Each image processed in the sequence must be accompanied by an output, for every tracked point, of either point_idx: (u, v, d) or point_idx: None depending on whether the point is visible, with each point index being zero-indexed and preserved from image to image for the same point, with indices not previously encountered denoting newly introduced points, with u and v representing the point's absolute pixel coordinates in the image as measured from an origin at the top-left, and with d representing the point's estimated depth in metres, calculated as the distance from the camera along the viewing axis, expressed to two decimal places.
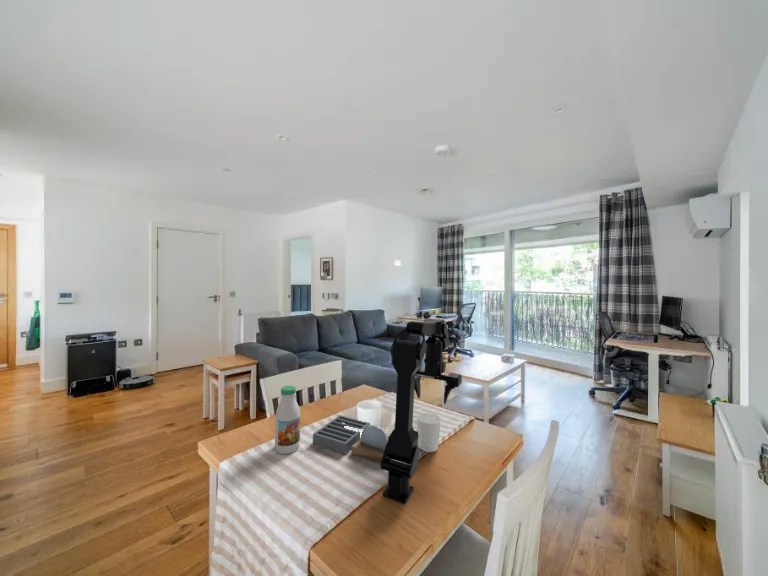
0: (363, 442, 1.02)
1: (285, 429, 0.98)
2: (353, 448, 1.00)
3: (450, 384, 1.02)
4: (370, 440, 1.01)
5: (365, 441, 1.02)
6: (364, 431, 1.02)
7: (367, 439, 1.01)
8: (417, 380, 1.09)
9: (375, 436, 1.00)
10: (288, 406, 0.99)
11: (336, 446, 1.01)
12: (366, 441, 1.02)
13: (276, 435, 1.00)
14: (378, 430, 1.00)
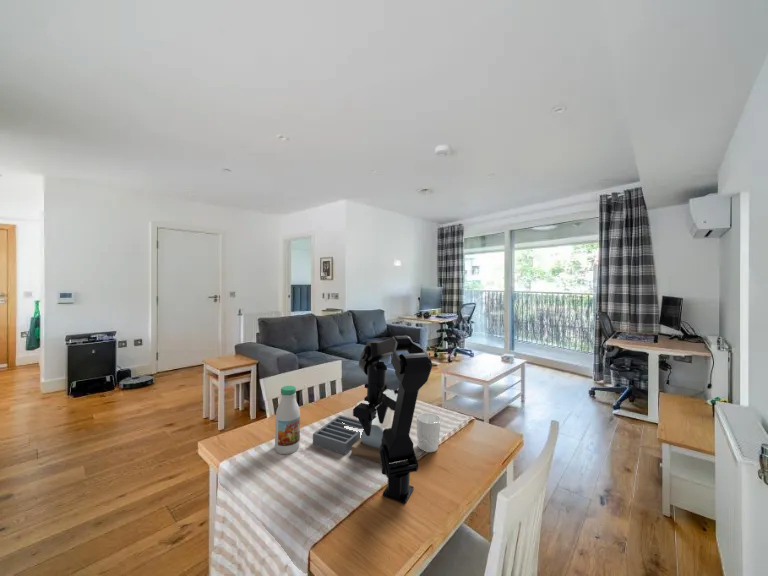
0: (363, 442, 1.02)
1: (285, 429, 0.98)
2: (353, 448, 1.00)
3: None
4: (370, 440, 1.01)
5: (365, 441, 1.02)
6: None
7: (367, 439, 1.01)
8: None
9: (375, 436, 1.00)
10: (288, 406, 0.99)
11: (336, 446, 1.01)
12: (366, 441, 1.02)
13: (276, 435, 1.00)
14: (378, 430, 1.00)
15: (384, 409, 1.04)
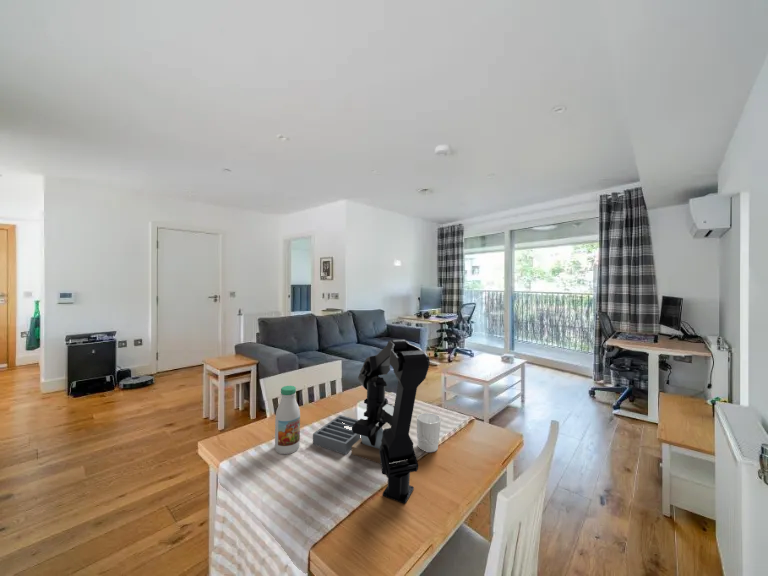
0: (363, 442, 1.02)
1: (285, 429, 0.98)
2: (353, 448, 1.00)
3: None
4: None
5: (365, 441, 1.02)
6: None
7: (367, 439, 1.01)
8: None
9: None
10: (288, 406, 0.99)
11: (336, 446, 1.01)
12: (366, 441, 1.02)
13: (276, 435, 1.00)
14: (378, 430, 1.00)
15: None
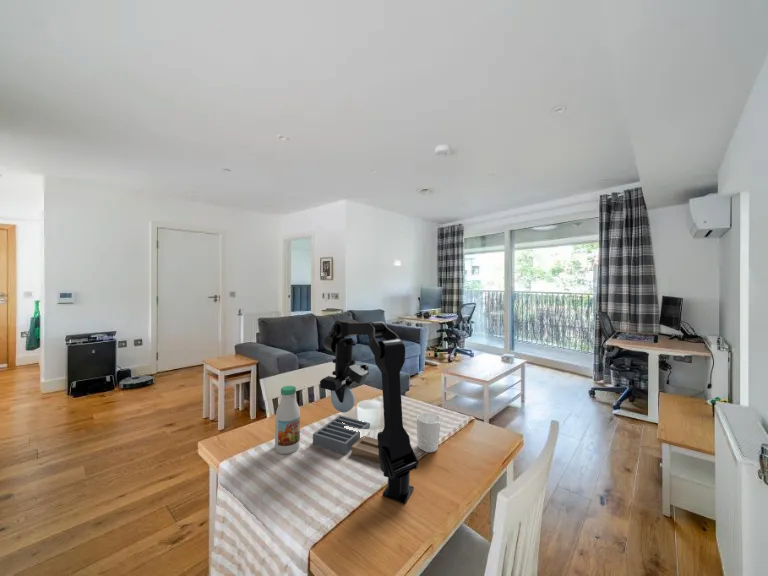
0: (332, 401, 1.09)
1: (285, 429, 0.98)
2: (353, 448, 1.00)
3: None
4: None
5: (334, 400, 1.09)
6: (333, 391, 1.09)
7: (336, 398, 1.08)
8: None
9: None
10: (288, 406, 0.99)
11: (336, 446, 1.01)
12: (335, 400, 1.09)
13: (276, 435, 1.00)
14: (346, 389, 1.07)
15: None
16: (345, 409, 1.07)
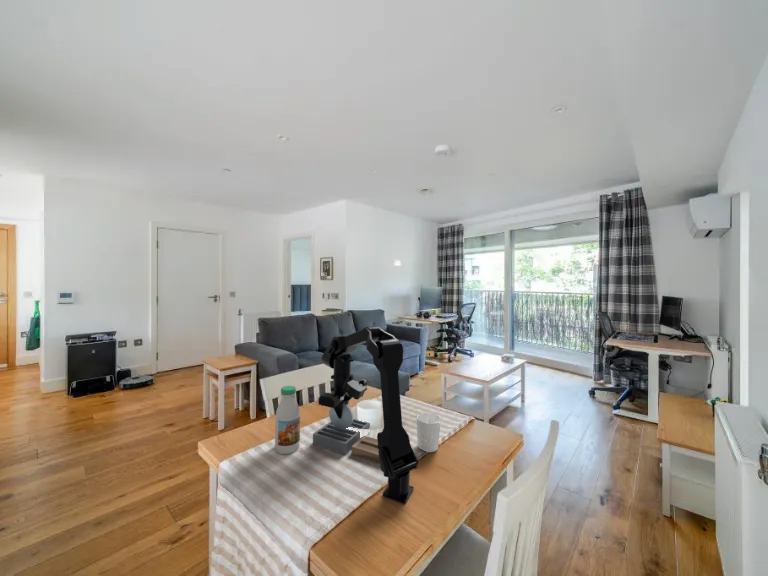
0: (331, 418, 1.09)
1: (285, 429, 0.98)
2: (353, 448, 1.00)
3: None
4: (337, 416, 1.08)
5: (333, 417, 1.09)
6: (332, 408, 1.09)
7: (334, 415, 1.09)
8: None
9: None
10: (288, 406, 0.99)
11: (336, 446, 1.01)
12: (333, 417, 1.09)
13: (276, 435, 1.00)
14: (344, 406, 1.07)
15: None
16: (344, 426, 1.07)
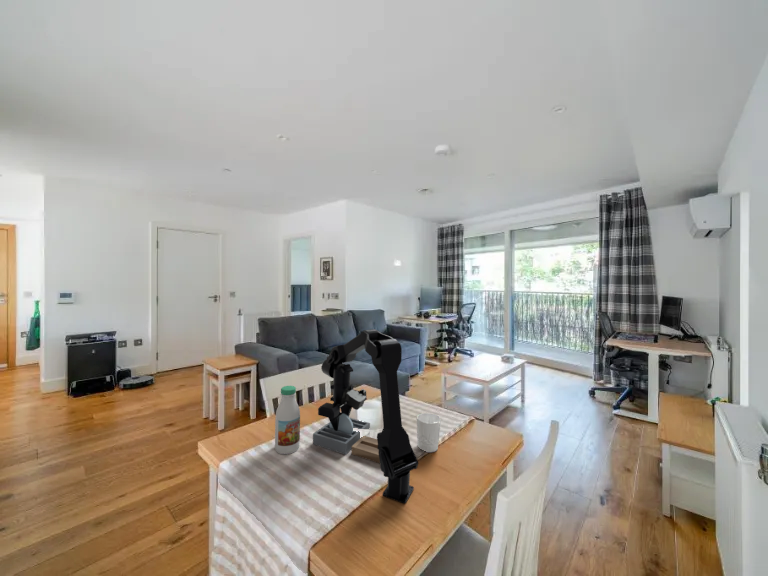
0: None
1: (285, 429, 0.98)
2: (353, 448, 1.00)
3: None
4: None
5: (333, 428, 1.09)
6: None
7: None
8: (344, 404, 1.12)
9: (341, 423, 1.08)
10: (288, 406, 0.99)
11: (336, 446, 1.01)
12: (333, 428, 1.09)
13: (276, 435, 1.00)
14: (344, 417, 1.07)
15: (348, 410, 1.11)
16: None
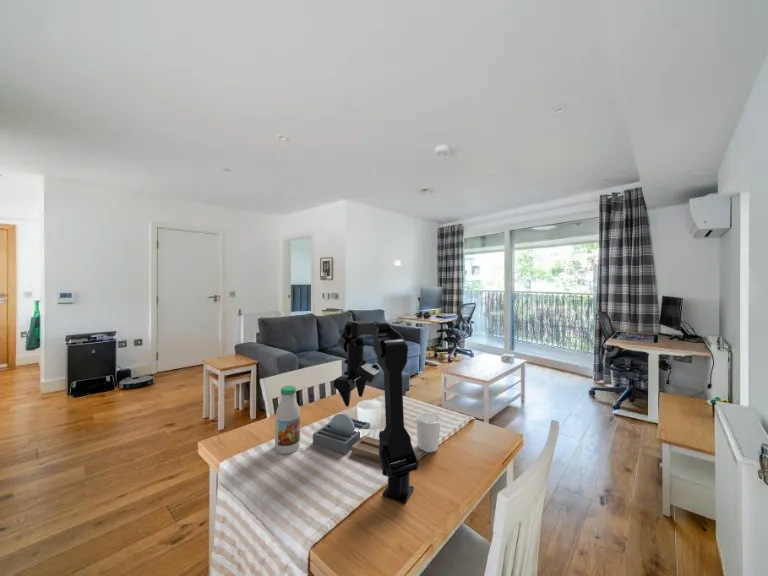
0: (332, 428, 1.10)
1: (285, 429, 0.98)
2: (353, 448, 1.00)
3: None
4: (338, 427, 1.08)
5: (334, 427, 1.09)
6: (334, 418, 1.09)
7: (335, 426, 1.09)
8: (359, 378, 1.15)
9: (343, 424, 1.07)
10: (288, 406, 0.99)
11: (336, 446, 1.01)
12: (334, 428, 1.09)
13: (276, 435, 1.00)
14: (346, 419, 1.07)
15: (363, 383, 1.14)
16: None
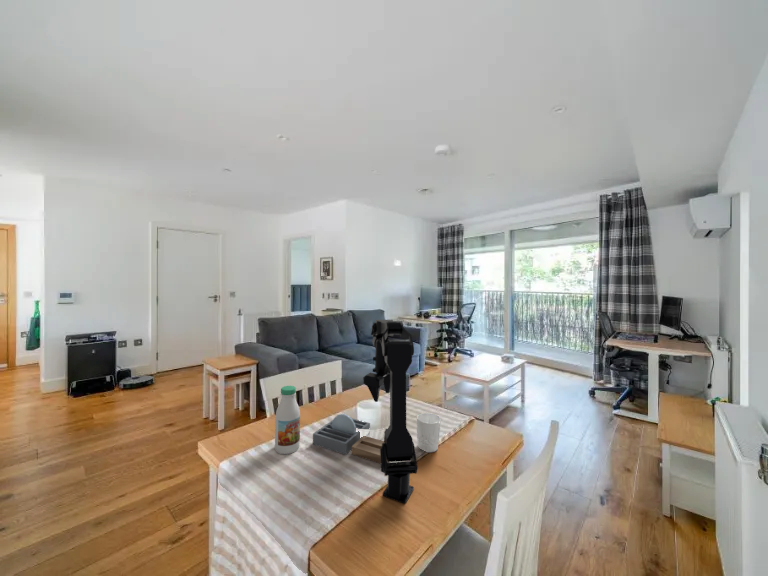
0: (333, 427, 1.09)
1: (285, 429, 0.98)
2: (353, 448, 1.00)
3: None
4: (340, 427, 1.08)
5: (335, 427, 1.09)
6: (336, 418, 1.09)
7: (337, 426, 1.09)
8: (386, 375, 1.19)
9: (345, 425, 1.07)
10: (288, 406, 0.99)
11: (336, 446, 1.01)
12: (336, 427, 1.09)
13: (276, 435, 1.00)
14: (349, 420, 1.06)
15: (390, 380, 1.18)
16: None
